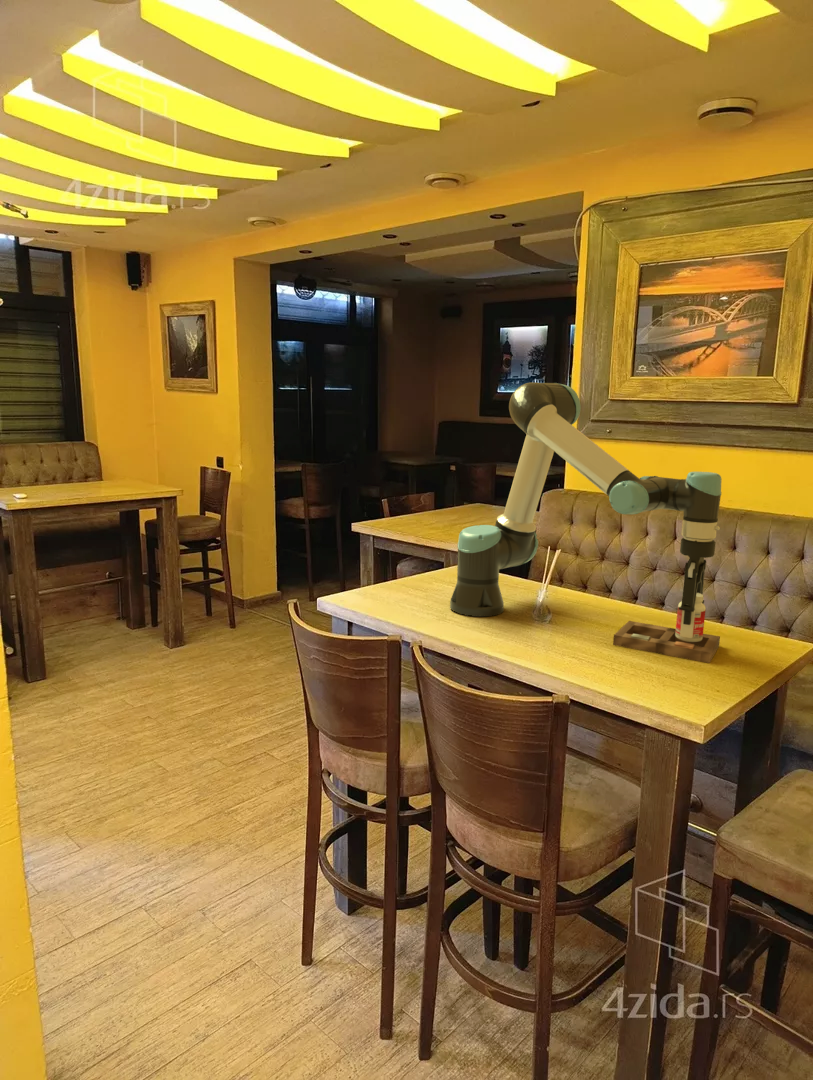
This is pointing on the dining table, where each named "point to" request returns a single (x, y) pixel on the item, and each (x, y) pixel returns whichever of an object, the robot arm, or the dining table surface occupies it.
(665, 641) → the socket board
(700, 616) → the pill bottle
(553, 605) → the dining table surface
